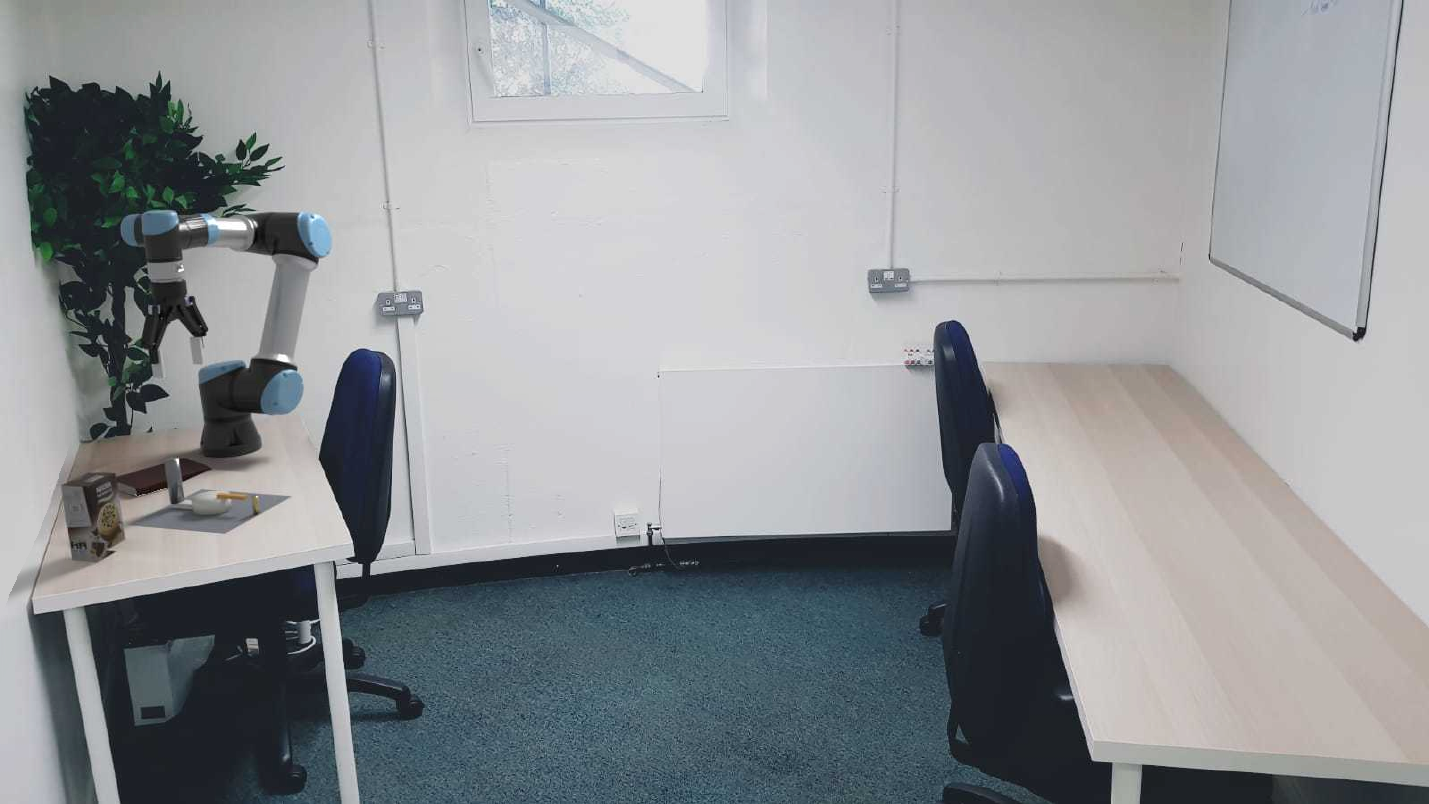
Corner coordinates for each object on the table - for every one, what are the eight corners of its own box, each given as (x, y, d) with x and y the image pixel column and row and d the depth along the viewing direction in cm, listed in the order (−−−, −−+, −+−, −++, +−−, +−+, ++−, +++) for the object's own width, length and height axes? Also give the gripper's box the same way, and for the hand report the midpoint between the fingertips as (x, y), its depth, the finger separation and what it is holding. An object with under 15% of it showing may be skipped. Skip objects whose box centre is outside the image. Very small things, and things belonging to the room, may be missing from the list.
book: (213, 477, 296) (211, 465, 295) (137, 499, 281) (135, 486, 280) (184, 469, 303) (182, 457, 302) (109, 490, 288) (107, 477, 287)
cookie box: (99, 562, 242) (87, 486, 238) (71, 560, 243) (58, 485, 239) (128, 545, 251) (117, 471, 247) (100, 544, 252) (88, 470, 248)
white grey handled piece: (258, 506, 268) (253, 459, 265) (236, 518, 261) (230, 470, 258) (184, 499, 273) (178, 453, 270) (160, 511, 266) (153, 464, 263)
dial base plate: (202, 495, 282) (199, 472, 280) (292, 502, 275) (290, 479, 274) (129, 531, 259) (125, 507, 258) (225, 540, 253) (222, 515, 252)
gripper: (143, 288, 261) (156, 384, 267) (217, 271, 284) (227, 359, 290) (113, 288, 263) (127, 382, 268) (189, 270, 286) (201, 358, 292)
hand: (179, 370), depth 279 cm, fingers open, 13 cm apart
